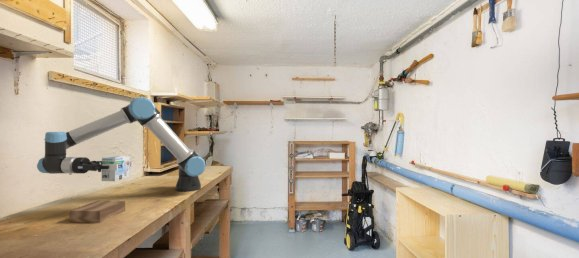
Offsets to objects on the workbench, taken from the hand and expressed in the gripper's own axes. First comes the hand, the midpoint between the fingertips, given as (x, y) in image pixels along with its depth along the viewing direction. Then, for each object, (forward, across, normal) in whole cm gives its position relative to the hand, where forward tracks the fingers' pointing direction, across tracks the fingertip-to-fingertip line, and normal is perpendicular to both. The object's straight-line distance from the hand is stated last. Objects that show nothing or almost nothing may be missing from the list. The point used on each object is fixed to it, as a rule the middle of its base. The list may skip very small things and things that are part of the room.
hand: (125, 165), depth 123 cm
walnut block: (-6, +9, -21) cm, 24 cm away
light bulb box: (-4, 0, -7) cm, 8 cm away
